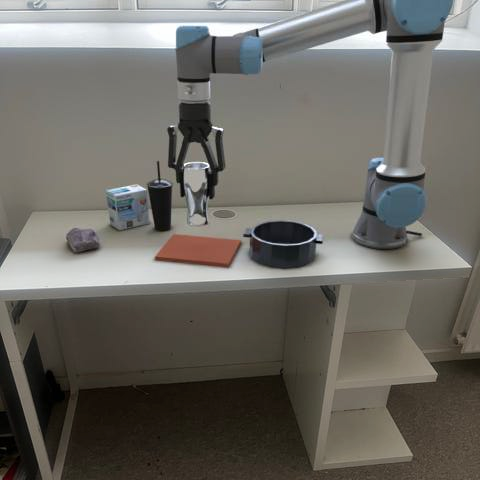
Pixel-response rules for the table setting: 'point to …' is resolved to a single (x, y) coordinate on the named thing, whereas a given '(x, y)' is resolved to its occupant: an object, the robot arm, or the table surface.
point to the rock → (82, 239)
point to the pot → (283, 254)
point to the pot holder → (199, 250)
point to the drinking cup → (160, 201)
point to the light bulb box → (128, 206)
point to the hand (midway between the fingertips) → (197, 196)
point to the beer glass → (196, 192)
